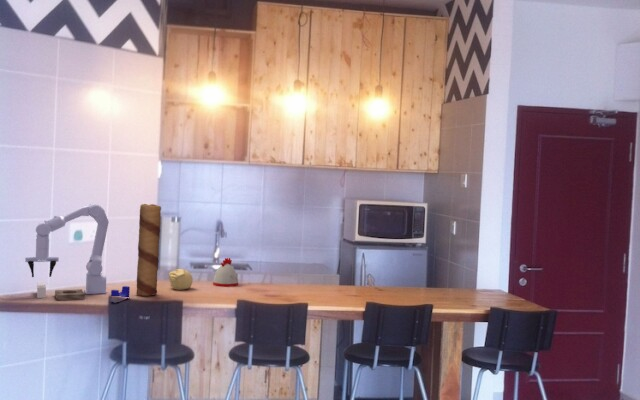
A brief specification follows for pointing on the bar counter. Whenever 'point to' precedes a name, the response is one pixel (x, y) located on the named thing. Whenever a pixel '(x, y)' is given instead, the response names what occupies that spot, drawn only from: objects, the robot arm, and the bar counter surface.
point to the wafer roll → (148, 249)
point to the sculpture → (180, 279)
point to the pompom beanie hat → (225, 275)
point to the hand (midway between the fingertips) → (41, 276)
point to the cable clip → (123, 294)
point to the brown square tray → (69, 294)
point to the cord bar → (41, 290)
